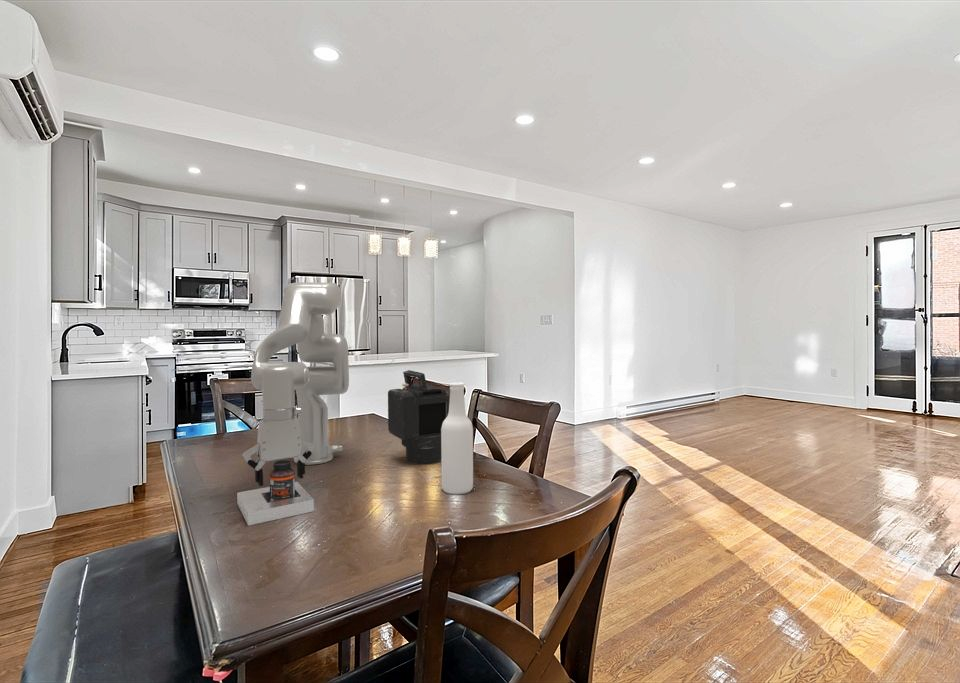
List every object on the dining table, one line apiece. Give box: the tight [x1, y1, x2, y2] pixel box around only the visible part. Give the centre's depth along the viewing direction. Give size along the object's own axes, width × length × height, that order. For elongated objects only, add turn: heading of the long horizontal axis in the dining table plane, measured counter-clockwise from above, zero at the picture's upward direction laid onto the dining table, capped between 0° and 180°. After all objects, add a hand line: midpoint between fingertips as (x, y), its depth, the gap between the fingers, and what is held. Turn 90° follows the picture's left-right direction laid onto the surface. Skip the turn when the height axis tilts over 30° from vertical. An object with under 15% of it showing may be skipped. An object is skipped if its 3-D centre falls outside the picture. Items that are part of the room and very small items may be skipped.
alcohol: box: [440, 381, 474, 496], centre depth 137 cm, size 9×9×30 cm
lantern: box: [387, 369, 450, 465], centre depth 166 cm, size 15×18×30 cm
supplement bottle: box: [269, 459, 296, 502], centre depth 126 cm, size 6×6×11 cm
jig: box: [236, 481, 315, 526], centre depth 125 cm, size 15×16×3 cm
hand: (280, 480), depth 125 cm, fingers open, 9 cm apart
